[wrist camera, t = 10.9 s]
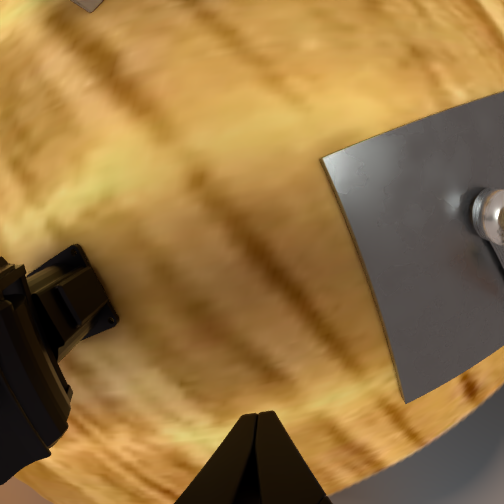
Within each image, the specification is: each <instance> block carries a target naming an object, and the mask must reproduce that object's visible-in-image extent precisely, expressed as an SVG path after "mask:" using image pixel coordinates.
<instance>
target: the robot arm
mask: <svg viewBox="0 0 504 504" xmlns="http://www.w3.org/2000/svg"><path fill="white" fill-rule="evenodd" d="M74 249H75V250H76V254H75V253H74ZM25 274H26V270H25V266H24V264H21V265H16V266H15V264H11V265H10V263H9V264H8V263H7V261H6V260H5V259H4V258H3V257H2V256H1V257H0V485H2V484H4V483H5V482H7V481H8V480H9V479H10V478H11V477H12V476H14V475H15V474H16V473H17V472H18V471H20V470H21V469H22V468H24V467H25V466H27V465H29V464H31V463H33V462H35V461H37V460H41V459H44V458H47V457H49V456H51V452H50V450H49V448H51V447H52V446H53V445H54V444H55V443H56V442H57V441H58V440H59V439H60V438H61V437H62V436H63V435H64V433H65V432H66V431H67V429H68V423H67V422H66V421H67V419H68V416H69V413H70V410H71V407H70V402H71V398H72V394H73V391H72V389H71V387H70V385H68V384H67V382H66V380H65V378H64V376H63V374H62V372H61V369H60V367H59V365H58V363H59V362H60V361H61V360H62V359H63V358H64V357H65V356H66V355H67V354H68V352H69V351H70V350H71V349H72V348H73V347H74V346H75V345H76V344H77V343H78V342H79V341H81V340H83V339H86V338H88V337H90V336H93V335H95V334H98V333H100V332H102V331H105V330H107V329H110V328H112V327H114V326H116V325H117V324H118V322H119V317H118V315H117V314H116V312H115V310H114V308H113V307H112V305H111V303H110V302H109V300H108V297H107V295H106V293H105V292H104V290H103V288H102V286H101V284H100V282H99V281H98V279H97V277H96V275H95V273H94V271H93V269H92V268H91V267H90V265H89V263H88V261H87V259H86V257H85V255H84V253H83V251H82V249H81V247H80V246H79V245H78V244H74V245H72V246H70V247H68V248H67V249H65V250H64V251H62V252H61V253H59V254H58V255H56V256H55V257H53V258H52V259H50V260H49V261H47V262H46V263H44V264H43V265H41V266H40V267H39V268H37V269H36V270H34V271H33V272H31V273H30V274H29V275H28V276H27V278H26V276H25ZM110 317H111V318H113V320H114V321H112V320H111V319H110ZM174 504H332V502H331V501H330V499H329V498H328V497H327V496H326V493H325V492H324V490H323V489H322V487H321V486H320V484H319V483H318V481H317V480H316V478H315V476H314V475H313V473H312V472H311V470H310V469H309V467H308V465H307V464H306V462H305V461H304V459H303V458H302V456H301V454H300V453H299V451H298V449H297V448H296V446H295V445H294V443H293V441H292V440H291V438H290V436H289V435H288V433H287V432H286V430H285V428H284V427H283V425H282V423H281V422H280V420H279V418H278V416H277V415H276V413H275V412H274V411H266V412H260V413H259V414H257V413H252V414H244V415H242V416H241V417H240V418H239V420H238V421H237V423H236V424H235V425H234V427H233V428H232V429H231V431H230V432H229V434H228V435H227V436H226V438H225V439H224V440H223V442H222V443H221V444H220V446H219V447H218V448H217V450H216V451H215V452H214V454H213V455H212V456H211V458H210V459H209V460H208V462H207V463H206V464H205V466H204V467H203V468H202V469H201V471H200V472H199V473H198V475H197V476H196V477H195V478H194V480H193V481H192V482H191V483H190V485H189V486H188V487H187V488H186V490H185V491H184V492H183V493H182V494H181V496H180V497H179V498H178V499H177V500H176V502H175V503H174Z"/></svg>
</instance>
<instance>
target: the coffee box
mask: <svg viewBox="0 0 504 504" xmlns="http://www.w3.org/2000/svg"><path fill="white" fill-rule="evenodd" d="M71 1H72V2H74V3H75V4H77V5H78V6H80V7H82V8H83V9H85V10H86V11H88V12H92V11H93V10H94V9H95V8H96V7H97V6H98V5H99V4H100V3H101V2H102V1H103V0H71Z"/></svg>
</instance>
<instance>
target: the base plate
mask: <svg viewBox="0 0 504 504" xmlns="http://www.w3.org/2000/svg"><path fill="white" fill-rule="evenodd" d="M320 161H321V164H322V166H323V168H324V170H325V173H326V175H327V177H328V180H329V182H330V184H331V187H332V189H333V191H334V194H335V196H336V198H337V201H338V203H339V206H340V208H341V211H342V213H343V216H344V218H345V221H346V223H347V226H348V228H349V231H350V233H351V236H352V239H353V241H354V244H355V247H356V249H357V252H358V255H359V257H360V260H361V263H362V266H363V269H364V271H365V274H366V277H367V280H368V283H369V286H370V289H371V292H372V295H373V298H374V301H375V304H376V307H377V310H378V313H379V317H380V320H381V323H382V326H383V330H384V333H385V336H386V340H387V343H388V347H389V350H390V354H391V357H392V361H393V365H394V368H395V372H396V376H397V380H398V384H399V388H400V392H401V396H402V398H403V400H404V402H405V404H407V403H409V402H411V401H413V400H415V399H417V398H419V397H421V396H423V395H425V394H426V393H428V392H430V391H432V390H434V389H436V388H437V387H439V386H441V385H443V384H445V383H446V382H448V381H450V380H451V379H453V378H455V377H457V376H458V375H460V374H461V373H463V372H465V371H466V370H468V369H470V368H471V367H473V366H474V365H476V364H477V363H479V362H480V361H482V360H483V359H485V358H486V357H488V356H489V355H491V354H492V353H494V352H495V351H497V350H498V349H499V348H501V347H502V346H504V269H503V266H502V264H501V262H500V260H499V258H498V256H497V254H496V252H495V250H494V249H493V247H492V245H491V243H490V241H488V240H485V239H483V238H481V237H480V236H479V235H478V234H477V232H476V231H475V228H474V225H473V221H472V207H473V203H474V201H475V199H476V198H477V196H478V195H479V193H480V192H481V191H483V190H484V189H486V188H497V189H503V190H504V91H503V92H500V93H496V94H493V95H490V96H487V97H484V98H481V99H477V100H474V101H471V102H468V103H465V104H462V105H459V106H456V107H453V108H450V109H447V110H445V111H442V112H439V113H436V114H433V115H430V116H428V117H425V118H422V119H419V120H416V121H414V122H411V123H408V124H406V125H403V126H400V127H398V128H395V129H392V130H390V131H387V132H385V133H382V134H379V135H377V136H374V137H372V138H369V139H367V140H364V141H362V142H359V143H357V144H354V145H352V146H349V147H347V148H344V149H342V150H340V151H337V152H335V153H332V154H330V155H327V156H325V157H323V158H320Z"/></svg>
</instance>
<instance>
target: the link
mask: <svg viewBox="0 0 504 504" xmlns="http://www.w3.org/2000/svg"><path fill="white" fill-rule="evenodd" d="M503 209H504V190H503V189H497V188H486V189H484V190H483V191H481V192H480V193H479V195H478V196H477V198H476V200H475V202H474V206H473V211H472V220H473V225H474V228H475V231H476V232H477V234H478V235H479V236H480V237H481V238H483V239H485V240H488V241H490V243H491V245H492V247H493V249H494V250H495V252H496V254H497V256H498V258H499V260H500V262H501V264H502V266H503V269H504V231H503V230H502V228H501V224H500V217H501V213H502V210H503Z"/></svg>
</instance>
